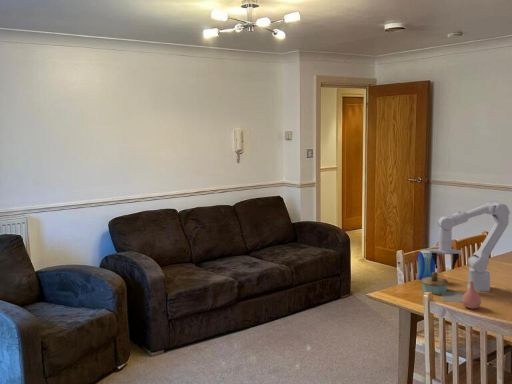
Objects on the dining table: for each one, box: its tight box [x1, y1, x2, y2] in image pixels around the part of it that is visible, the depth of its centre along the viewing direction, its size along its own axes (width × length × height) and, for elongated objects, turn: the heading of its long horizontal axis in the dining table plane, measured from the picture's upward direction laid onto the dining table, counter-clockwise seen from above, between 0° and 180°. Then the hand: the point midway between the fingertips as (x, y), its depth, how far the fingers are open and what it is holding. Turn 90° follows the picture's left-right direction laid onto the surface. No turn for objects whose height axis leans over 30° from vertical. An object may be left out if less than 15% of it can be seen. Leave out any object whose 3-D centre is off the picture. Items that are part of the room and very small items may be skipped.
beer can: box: [417, 249, 436, 283], centre depth 258 cm, size 8×8×16 cm
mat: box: [441, 291, 466, 303], centre depth 234 cm, size 14×14×1 cm
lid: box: [421, 271, 449, 286], centre depth 243 cm, size 12×12×5 cm
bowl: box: [421, 282, 448, 295], centre depth 244 cm, size 11×11×4 cm
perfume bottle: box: [461, 282, 482, 309], centre depth 219 cm, size 8×8×12 cm
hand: (444, 268), depth 245 cm, fingers open, 7 cm apart
